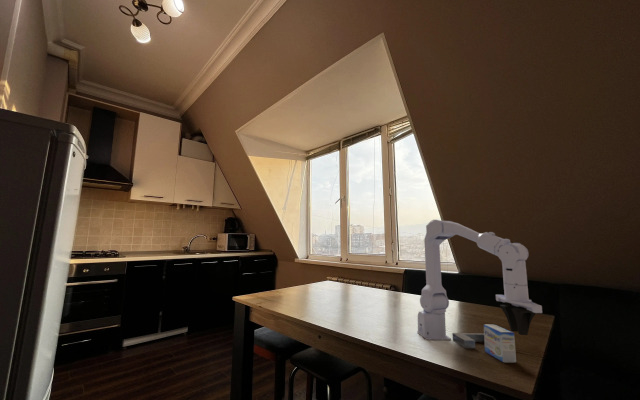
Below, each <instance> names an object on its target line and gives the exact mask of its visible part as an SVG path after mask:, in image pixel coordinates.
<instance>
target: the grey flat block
mask: <svg viewBox="0 0 640 400" xmlns="http://www.w3.org/2000/svg"><path fill="white" fill-rule="evenodd" d="M452 341H453V342H455V343H456V344H458V345H459V346H461V347H462V348H463V349H476V343H485V341H484V332H483V333H480V332H479V333H476V332H475V333H471V332H470V333H468V332H452Z"/></svg>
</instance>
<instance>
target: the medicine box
mask: <svg viewBox="0 0 640 400" xmlns="http://www.w3.org/2000/svg"><path fill="white" fill-rule="evenodd" d="M483 333H484V341H485V342H484V352H485V353H487V354H488V355H489V356H491V357H493V358H495V359H497V360H499V361H500V362H502V363H506V364H507V363H512V364H514V363H517V356H516V355H517V354H516V353H517V352H516V341H515V332H514V331H511V330H508V329H506V328H503V327H501V326H499V325H496V324H489V323H488V324H487V323H486V324H485V323H484V324H483Z"/></svg>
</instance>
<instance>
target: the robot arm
mask: <svg viewBox="0 0 640 400" xmlns="http://www.w3.org/2000/svg"><path fill="white" fill-rule="evenodd" d="M425 227H426V231H425V232H426V233H425V236H424V239H423V241H424V258H425V259H424V261H425V264H424V265H425V280H426V281H425V283H426V285H425V286H424V287H423V288H422V289H421V295H420V298H419V303H420V307H421V308H422V310H421V311H418V313H417V331H416V332H417V333H418V335H420V336H421V337H422V338H424V339H426V340H430V341H431V340H432V341H433V340H435V341H436V340H438V341H441V340H443V341H449V340H452V339H451V337H449V336H448V335H447V332H446V331H447V329H446V327H447V326H446V312H447V309H448V308H449V305H450V300H449V297H448V296H447V290H446V289H445V288H444V287H443V284H442V271H441V270H442V269H441V267H442V266H441V265H442V264H441V250H440V249H441V248H440V245H441V244H442V243H444V241H445V240H448V239H450V238H452V237H454V236H459V237H463V238H464V239H467V240H470V241H472V242H475V243H476V246H477V247H478V248H479V249H482V250H484V251H486V252H487V253H490V254H491V255H494V256H495V257H496V256H497V257H498V259H499V260H500V261H501V266H502V278H503V279H502V280H503V290H504V291H503V292H504V294H495V300H496V302H502V303H504V304H500V305H499V306H500V307H499V308H500V309H501V310H502V312H503V313H504V315H505V317H506V320H507V322H508V326H509V328H510V331H511V332H517V333H518V335H520V336H528V335H529V329H530V326H531V322H532V320H533V319H534V317H535V316H536V314H543V306H542V305H540V304H538V303H536V302H533V301H532V299H530V298H529V288H528V274H527V266H526V265H527V263H526V261H527V259H528V258H529V250H528V248H527V247H526V246H524V245H523V244H522V243H520V242H513V243H512V242H511V239H509V238H502V237H499V236H497V235H496V233H495V232H493V231H489V232H488V231H485V232H483V233H482V232H481V233H480V232H478V231H475V230H473V229H472V228H470V227H467V226H464V224H463V225H462V224H460V223H458V222H454V221H452V220H442V219H441V220H439V219H432V220H430V221H429V222H428V224H427V225H426V226H425Z"/></svg>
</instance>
